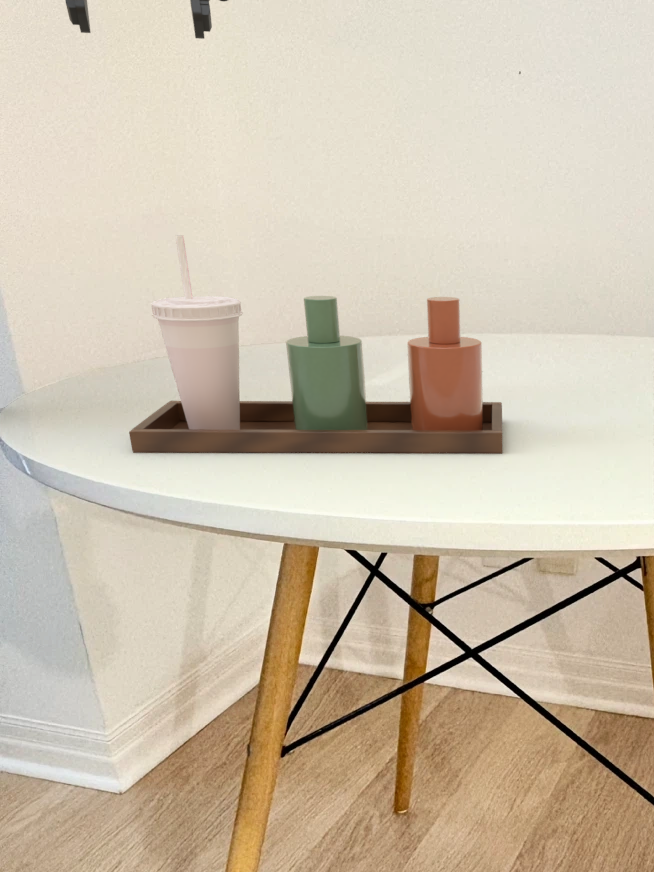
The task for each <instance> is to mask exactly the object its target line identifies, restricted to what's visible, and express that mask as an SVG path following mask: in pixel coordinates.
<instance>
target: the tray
mask: <svg viewBox="0 0 654 872" xmlns="http://www.w3.org/2000/svg"><path fill="white" fill-rule="evenodd" d="M366 405H367V419H368V430H295V423H294V414H293V404H292V400H290V401H289V400H240V430H219V429H189V427H188V424H187V420H186V417H185V413H184V410H183V406H182V403H181V400H169V401H168V402H167V403H165V404H164V405H163V406H161V407H160V408H159V409H157V410H156V411H155V412H153V413H152V414H151V415H149V416H148V417H147V418H145V419H143V420H142V421H141V422H139V423H138V424H137V425H135V426H134V427H133V428H131V429H130V430H129V432H128V434H129V439H130V445H131V450H132V454H363V455H364V454H366V455H367V454H369V455H371V454H373V455H375V454H379V455H380V454H386V455H387V454H389V455H390V454H398V455H399V454H400V455H401V454H402V455H403V454H404V455H405V454H406V455H407V454H408V455H409V454H410V455H411V454H412V455H413V454H414V455H415V454H418V455H419V454H420V455H422V454H424V455H428V454H429V455H431V454H432V455H434V454H435V455H436V454H437V455H447V454H448V455H503V403H502V401H483V430H411V410H410V401H366Z"/></svg>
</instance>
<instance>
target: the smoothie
mask: <svg viewBox="0 0 654 872" xmlns="http://www.w3.org/2000/svg"><path fill="white" fill-rule="evenodd" d="M174 237H175V242H176V243H175V244H176V249H177V256H178V262H179V269H180V276H181V282H182V289H183V295H184V296H172V297H164V298H159V299H156V300H153V301H152V302H151V303H150V305H151V310H152V315H151V317H152V318H153V319H156V320H157V322H158V325H159V328H160V332H161V337H162V341H163V344H164V347H165V349H166V353H167V357H168V360H169V364H170V368H171V371H172V375H173V378H174V382H175V385H176V388H177V392H178V396H179V399H180V401H181V403H182V406H183V410H184V413H185V417H186V420H187V424H188V427H189V429H219V430H240V401H241V400H240V399H241V397H240V327H239V324H240V323H239V317H241V316H243V314H244V312H243V311H242V305H241V300H240V299H238V298H236V297H230V296H220V295H219V296H217V295H213V296H212V295H193V291H192V283H191V277H190V270H189V264H188V258H187V252H186V251H187V250H186V244H185V237H184V235H183V234H175V236H174Z"/></svg>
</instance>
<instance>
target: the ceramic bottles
mask: <svg viewBox="0 0 654 872" xmlns="http://www.w3.org/2000/svg"><path fill="white" fill-rule="evenodd" d="M460 303H461V302H460V298H458V297H452V296H433V297H427V298H426V311H427V312H426V313H427V334H428V335H427V336H421V337H416V338H412V339H409V340H408V341H407V342H406V348H407V349H406V350H407V368H408V369H407V370H408V387H409V388H408V389H409V402H410V410H411V430H483V402H484V400H483V399H484V397H483V395H484V393H483V392H484V391H483V389H484V388H483V343H482V342H483V341H481V340H480V339H478V338H474V337H469V336H468V337H467V336H461V310H460V306H461V305H460ZM303 306H304V316H305V326H306V335H305V336H297V337H293V338H289V339H287V340H286V341H285V346H286V356H287V367H288V375H289V385H290V394H291V401H292V404H293V414H294V423H295V430H368V419H367V405H366V402H367V393H366V377H365V366H364V365H365V364H364V349H363V341H362V339H361V338H358V337H356V336H349V335H341V332H340V320H339V319H340V318H339V307H338V306H339V305H338V298H337V297H336V296H333V295H309V296H305V297H303Z"/></svg>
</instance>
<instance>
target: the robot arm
mask: <svg viewBox="0 0 654 872" xmlns="http://www.w3.org/2000/svg"><path fill="white" fill-rule="evenodd" d="M210 1H211V0H189V2H190V3H189V4H190V9H191V16H192V17H191V18H192V22H193V30H194V37H195V39H200V40H201V39H202V40H203V39H205V32H208V33H210V32H211V30H212V27H213V25H212V24H213V23H212V16H211V15H212V14H211V6H210ZM219 1H220V2H227V1H229V0H219ZM65 6H66V10H67V15H68V18H69V21H70V23H71V24H72V25H73V26H75V25H76V26H78V27H79V30H80V33H81V34H91V32H92V31H91V26H90V13H89V5H88V0H65Z"/></svg>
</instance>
